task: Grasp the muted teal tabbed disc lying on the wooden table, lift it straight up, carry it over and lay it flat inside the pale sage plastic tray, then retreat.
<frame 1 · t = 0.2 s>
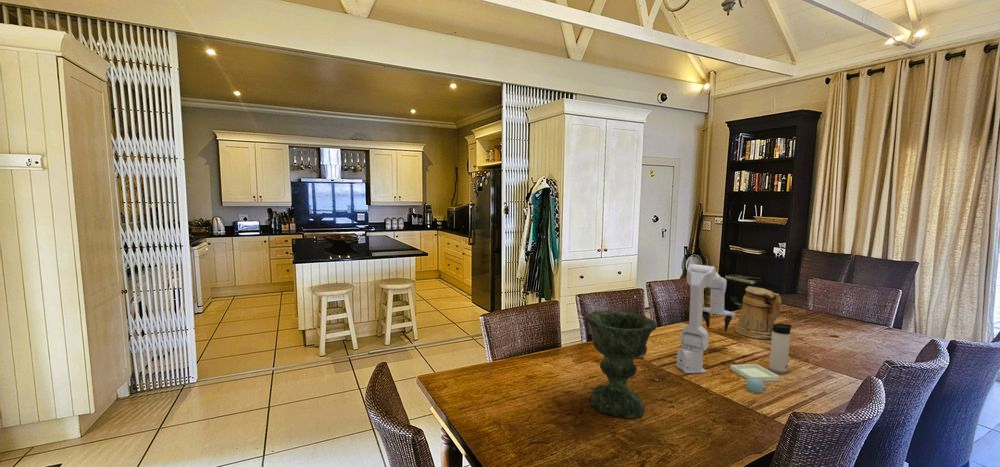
hand: (716, 328, 192), 10 cm above the table, tool pointing down, fingers open, 7 cm apart
travel mug: (778, 371, 170), on the table
tankard: (758, 336, 215), on the table
goblet: (616, 405, 139), on the table
tin: (629, 357, 182), on the table
tray: (754, 375, 165), on the table
tabbed disc: (754, 390, 152), on the table
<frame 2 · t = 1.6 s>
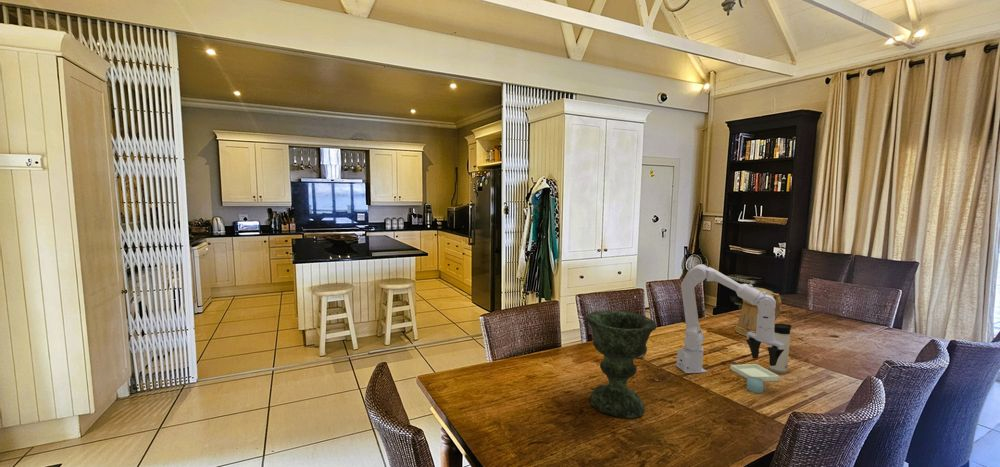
hand: (763, 361, 155), 10 cm above the table, tool pointing down, fingers open, 7 cm apart
nothing on the table moved.
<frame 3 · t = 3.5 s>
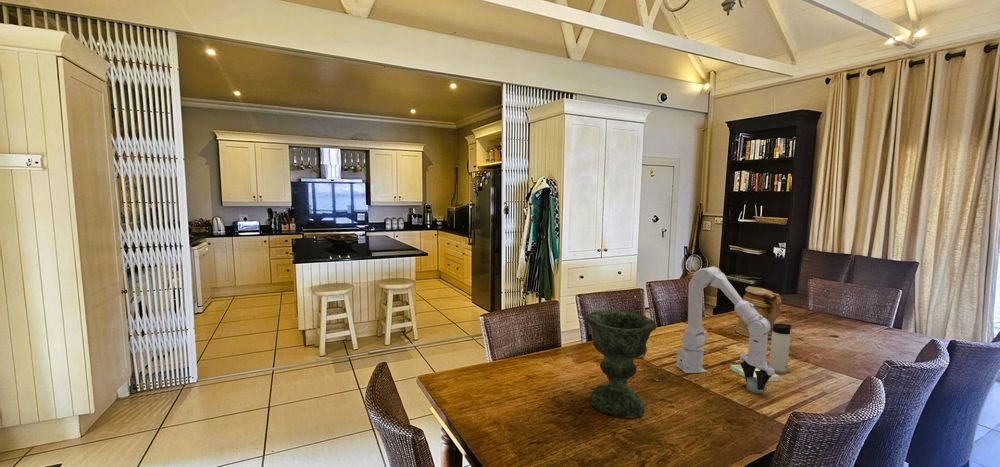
hand: (754, 385, 152), 2 cm above the table, tool pointing down, fingers closed on tabbed disc, 5 cm apart
tabbed disc: (754, 390, 152), on the table, touching gripper
everything else where it was.
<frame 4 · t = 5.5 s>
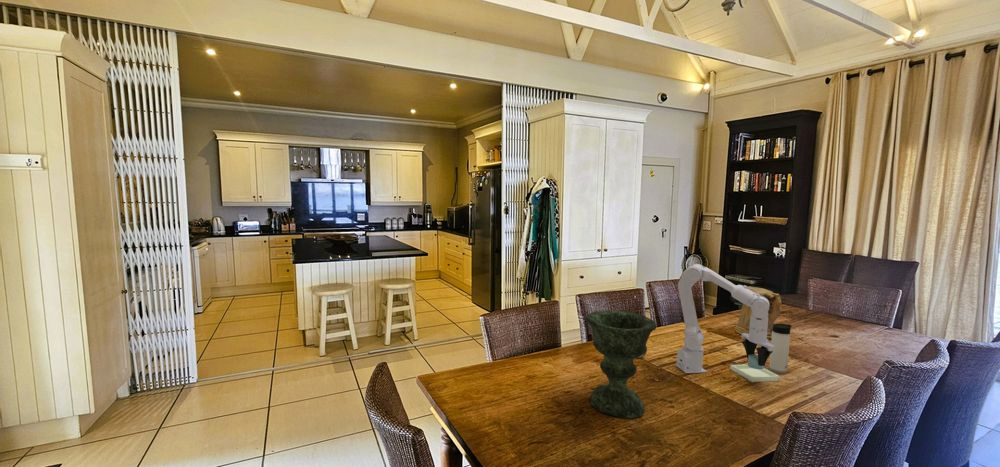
hand: (755, 362, 156), 9 cm above the table, tool pointing down, fingers closed on tabbed disc, 5 cm apart
tabbed disc: (755, 366, 156), point 7 cm above the table, touching gripper
everything else where it was.
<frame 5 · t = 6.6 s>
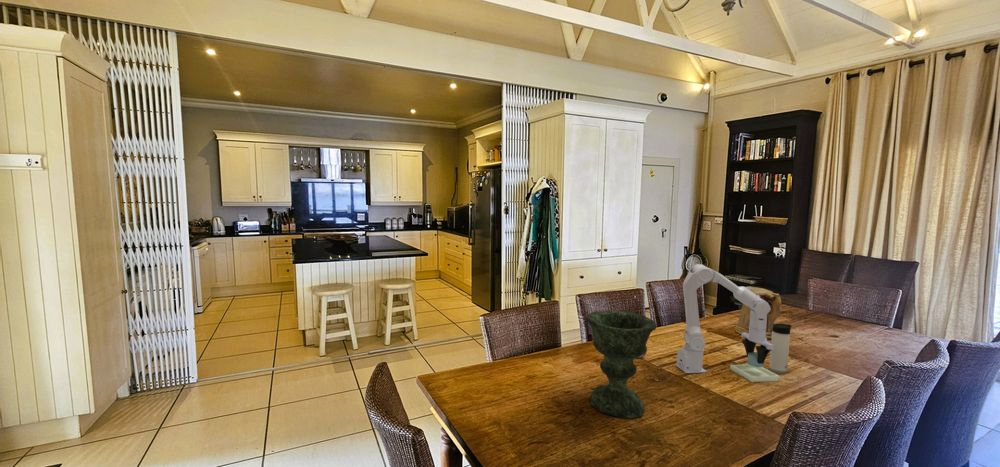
hand: (755, 360, 165), 6 cm above the table, tool pointing down, fingers closed on tabbed disc, 5 cm apart
tabbed disc: (754, 364, 165), point 5 cm above the table, touching gripper
everything else where it was.
when the fingers open (3 cm above the table, at t = 7.6 s): tabbed disc stays where it is, resting on tray.
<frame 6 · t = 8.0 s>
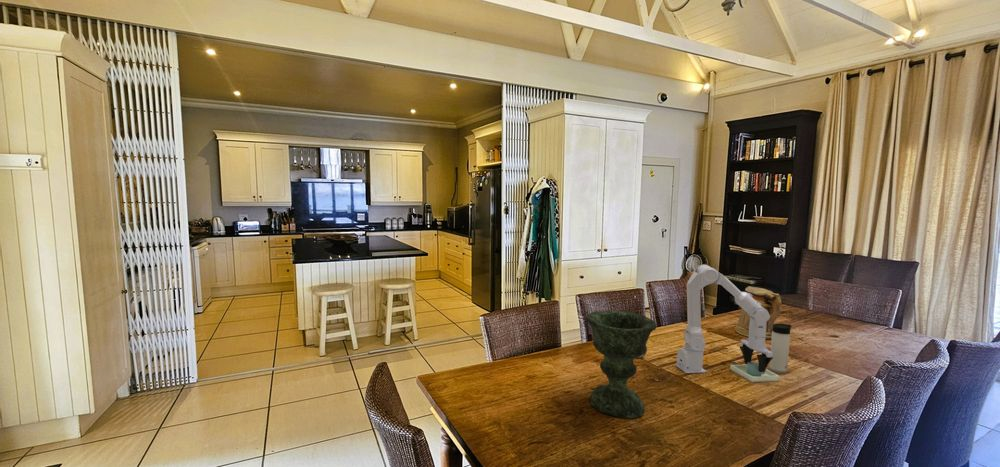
hand: (754, 367, 165), 3 cm above the table, tool pointing down, fingers open, 7 cm apart
tabbed disc: (753, 373, 165), resting on tray
everything else where it was.
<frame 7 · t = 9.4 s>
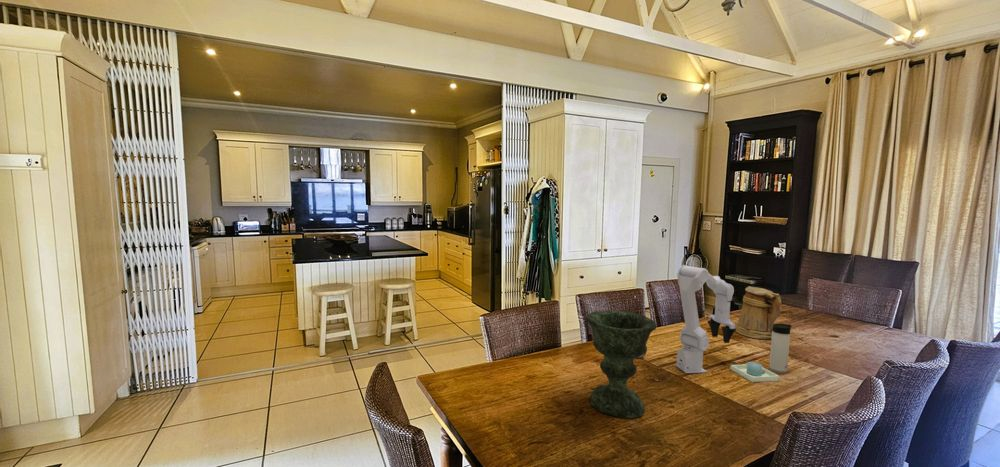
hand: (720, 339, 179), 9 cm above the table, tool pointing down, fingers open, 7 cm apart
nothing on the table moved.
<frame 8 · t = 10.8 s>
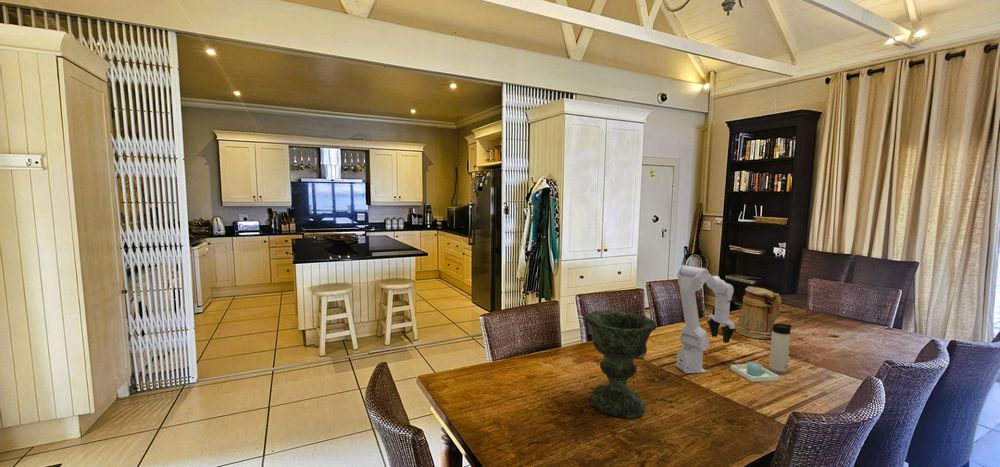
hand: (720, 339, 180), 9 cm above the table, tool pointing down, fingers open, 7 cm apart
nothing on the table moved.
at the end: tabbed disc inside the target area on the tray (0.1 cm from its centre), point 0.5 cm above the tray's base; tabbed disc tilted 0°; the gripper is holding nothing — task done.
